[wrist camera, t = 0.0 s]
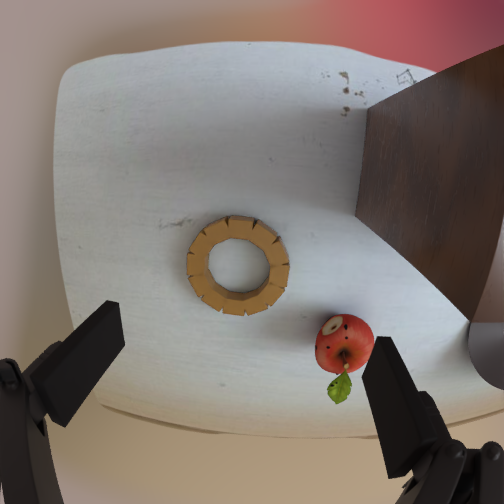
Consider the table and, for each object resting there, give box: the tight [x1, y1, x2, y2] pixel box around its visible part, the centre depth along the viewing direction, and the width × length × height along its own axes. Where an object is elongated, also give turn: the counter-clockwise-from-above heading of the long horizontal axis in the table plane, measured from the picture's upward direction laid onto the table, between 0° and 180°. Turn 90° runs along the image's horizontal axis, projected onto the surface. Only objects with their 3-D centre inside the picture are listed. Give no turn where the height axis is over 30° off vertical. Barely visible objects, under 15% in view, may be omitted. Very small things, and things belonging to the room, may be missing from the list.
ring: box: [187, 215, 290, 316], centre depth 32 cm, size 11×11×2 cm
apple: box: [315, 314, 374, 404], centre depth 30 cm, size 8×7×10 cm
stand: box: [355, 45, 504, 323], centre depth 17 cm, size 12×12×22 cm
